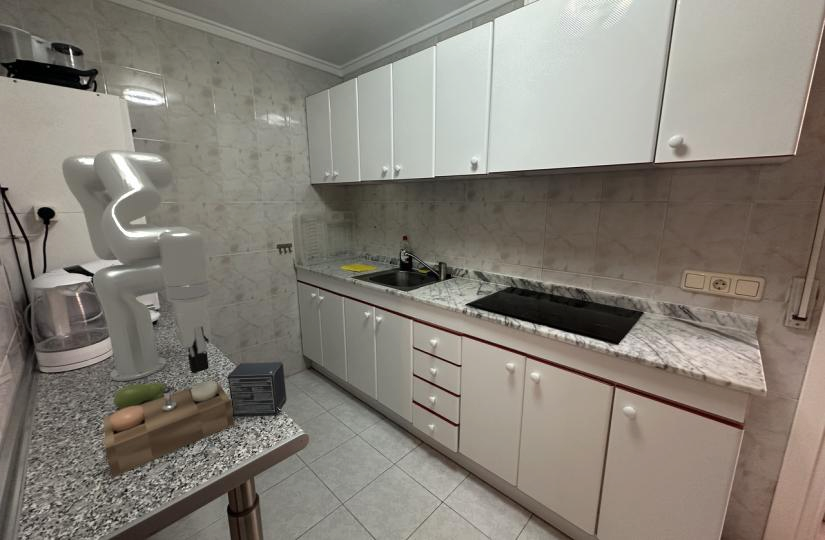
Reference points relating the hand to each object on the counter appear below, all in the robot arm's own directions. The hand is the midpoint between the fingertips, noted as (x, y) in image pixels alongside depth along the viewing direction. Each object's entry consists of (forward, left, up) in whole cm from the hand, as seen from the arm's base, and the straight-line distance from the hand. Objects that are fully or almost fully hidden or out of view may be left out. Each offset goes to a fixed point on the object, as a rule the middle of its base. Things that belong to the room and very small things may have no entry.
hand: (199, 369), depth 71 cm
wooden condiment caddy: (+1, -6, -12) cm, 14 cm away
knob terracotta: (+1, -13, -11) cm, 17 cm away
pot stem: (+1, -6, -6) cm, 9 cm away
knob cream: (+1, 0, -11) cm, 11 cm away
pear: (-18, -10, -13) cm, 24 cm away
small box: (+5, +10, -12) cm, 17 cm away
